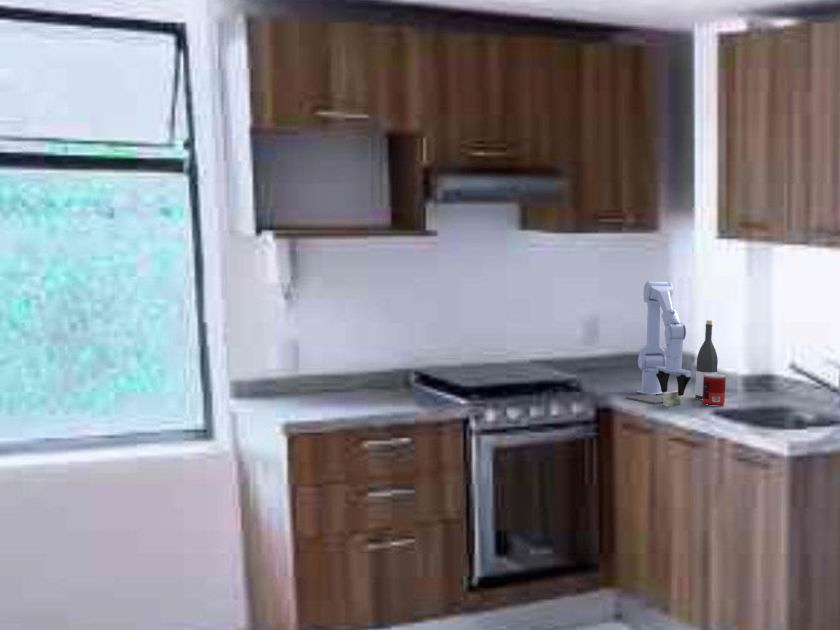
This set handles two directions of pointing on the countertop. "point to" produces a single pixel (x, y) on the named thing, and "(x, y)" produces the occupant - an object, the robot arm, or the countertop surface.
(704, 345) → the wine bottle
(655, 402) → the rubber mat
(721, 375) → the canned food
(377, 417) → the countertop surface
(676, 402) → the pale green block
